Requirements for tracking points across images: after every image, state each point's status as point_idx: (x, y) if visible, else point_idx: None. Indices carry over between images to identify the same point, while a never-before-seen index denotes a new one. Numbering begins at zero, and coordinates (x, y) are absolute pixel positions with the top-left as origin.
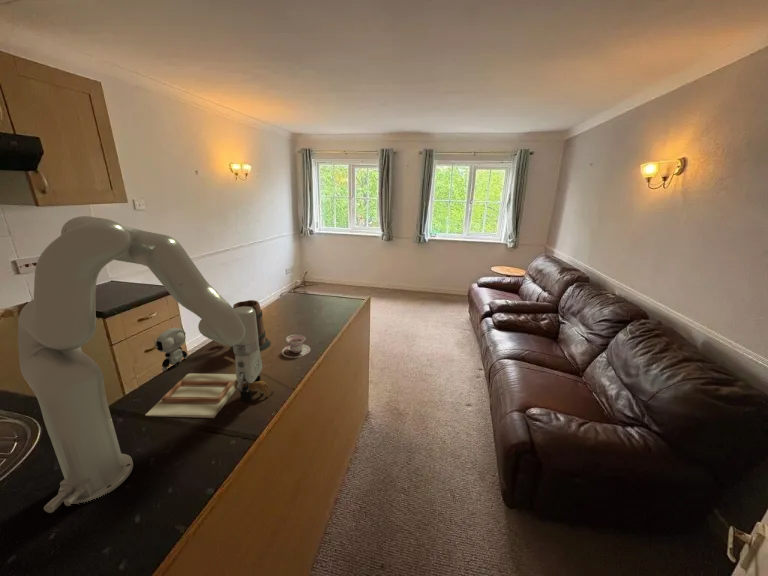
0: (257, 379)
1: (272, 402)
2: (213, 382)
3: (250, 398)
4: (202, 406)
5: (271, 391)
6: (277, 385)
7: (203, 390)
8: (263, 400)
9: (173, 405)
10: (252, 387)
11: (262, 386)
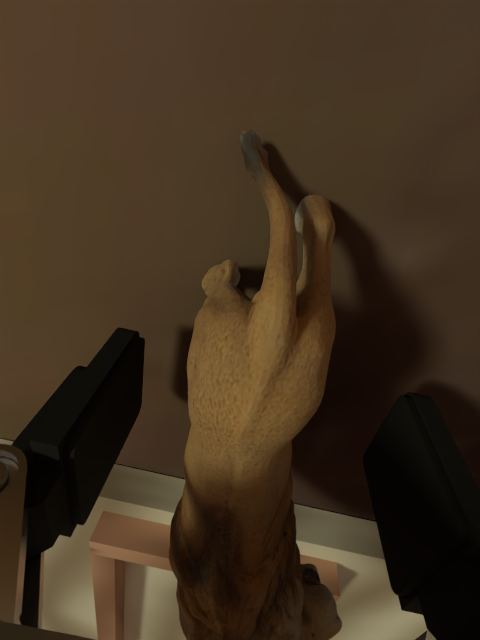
0: (100, 427)
1: (472, 127)
2: (116, 607)
3: (440, 427)
4: (349, 613)
5: (263, 169)
6: (56, 97)
7: (177, 607)
8: (370, 256)
9: None
10: (289, 462)
11: (329, 355)
